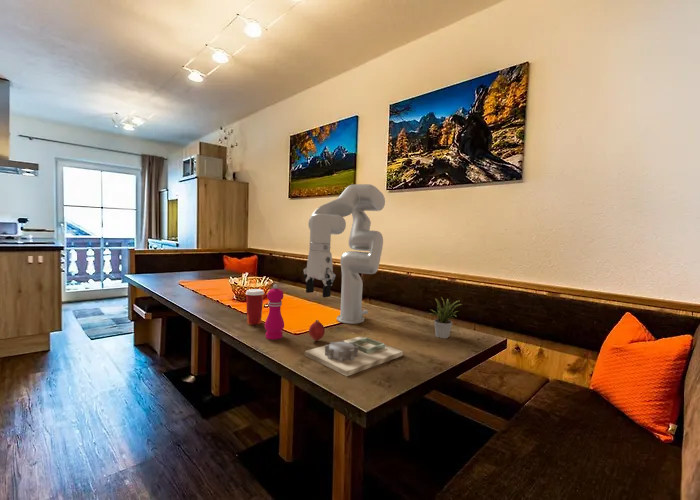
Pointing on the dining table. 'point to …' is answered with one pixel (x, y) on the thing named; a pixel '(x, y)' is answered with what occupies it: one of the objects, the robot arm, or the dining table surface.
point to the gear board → (353, 354)
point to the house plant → (443, 318)
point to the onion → (316, 330)
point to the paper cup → (254, 306)
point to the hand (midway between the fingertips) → (317, 294)
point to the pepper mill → (274, 314)
